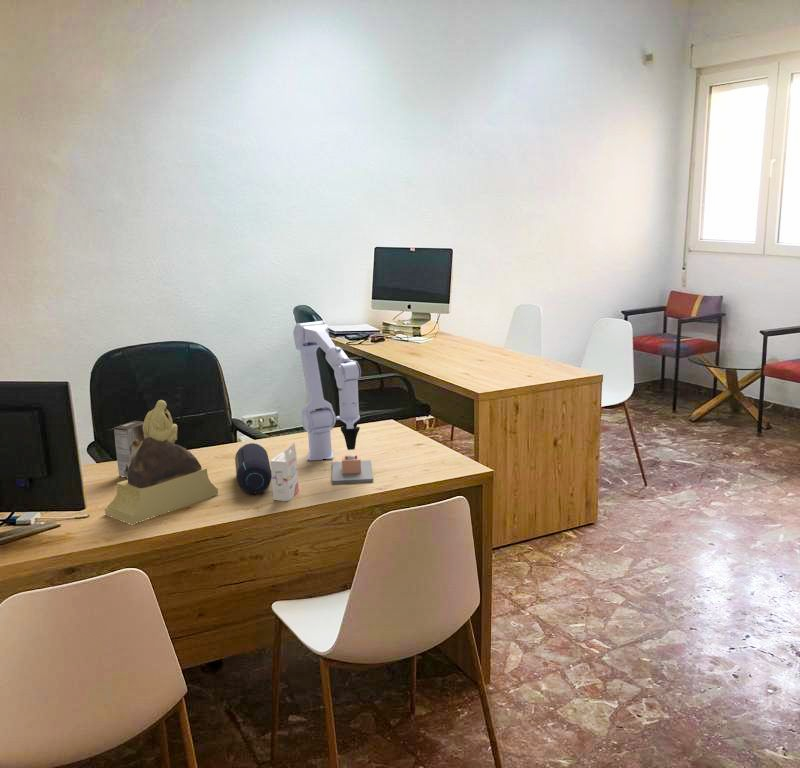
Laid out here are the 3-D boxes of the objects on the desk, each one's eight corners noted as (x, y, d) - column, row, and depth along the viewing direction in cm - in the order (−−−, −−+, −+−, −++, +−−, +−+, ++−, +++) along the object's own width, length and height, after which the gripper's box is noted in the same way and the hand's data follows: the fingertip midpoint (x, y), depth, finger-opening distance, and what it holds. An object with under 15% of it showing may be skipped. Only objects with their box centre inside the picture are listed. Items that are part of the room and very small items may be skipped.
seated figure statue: (190, 486, 246) (181, 387, 240) (218, 495, 238) (209, 393, 231) (105, 515, 225) (92, 408, 218) (132, 525, 217) (120, 414, 210)
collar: (342, 467, 255) (341, 455, 254) (360, 466, 255) (360, 454, 254) (342, 473, 249) (341, 461, 248) (361, 472, 250) (360, 459, 249)
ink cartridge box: (282, 490, 239) (279, 441, 236) (299, 491, 238) (296, 442, 235) (272, 501, 231) (268, 450, 228) (289, 501, 230) (286, 450, 227)
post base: (332, 465, 261) (331, 448, 260) (370, 463, 262) (370, 446, 260) (332, 484, 243) (331, 466, 242) (373, 481, 244) (372, 464, 243)
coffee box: (140, 468, 264) (135, 419, 261) (155, 471, 261) (150, 421, 258) (118, 477, 257) (112, 427, 253) (133, 479, 253) (127, 429, 250)
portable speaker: (236, 472, 258) (233, 441, 255) (268, 469, 260) (266, 438, 258) (238, 499, 234) (235, 465, 232) (274, 495, 236) (271, 462, 234)
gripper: (335, 397, 254) (337, 439, 257) (335, 408, 240) (337, 453, 243) (358, 396, 255) (360, 438, 258) (359, 407, 241) (361, 452, 244)
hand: (350, 445), depth 251 cm, fingers open, 7 cm apart
